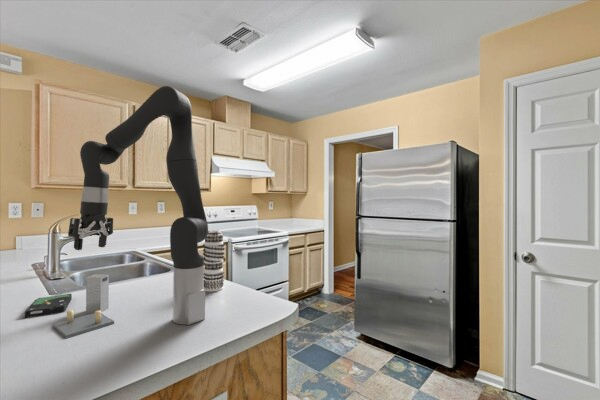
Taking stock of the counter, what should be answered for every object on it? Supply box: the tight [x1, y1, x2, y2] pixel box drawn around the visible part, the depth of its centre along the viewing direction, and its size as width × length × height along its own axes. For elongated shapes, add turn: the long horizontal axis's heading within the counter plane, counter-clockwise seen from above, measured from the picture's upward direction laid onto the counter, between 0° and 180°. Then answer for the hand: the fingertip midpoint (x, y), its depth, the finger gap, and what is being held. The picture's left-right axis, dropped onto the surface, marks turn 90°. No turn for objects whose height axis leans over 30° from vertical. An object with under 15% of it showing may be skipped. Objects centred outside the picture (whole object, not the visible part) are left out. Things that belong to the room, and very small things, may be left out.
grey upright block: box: [85, 273, 110, 314], centre depth 100 cm, size 5×4×12 cm
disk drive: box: [24, 293, 73, 319], centre depth 102 cm, size 10×3×15 cm
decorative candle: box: [202, 229, 226, 292], centre depth 126 cm, size 9×9×25 cm
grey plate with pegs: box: [52, 309, 115, 339], centre depth 89 cm, size 12×12×4 cm
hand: (90, 248), depth 99 cm, fingers open, 8 cm apart
